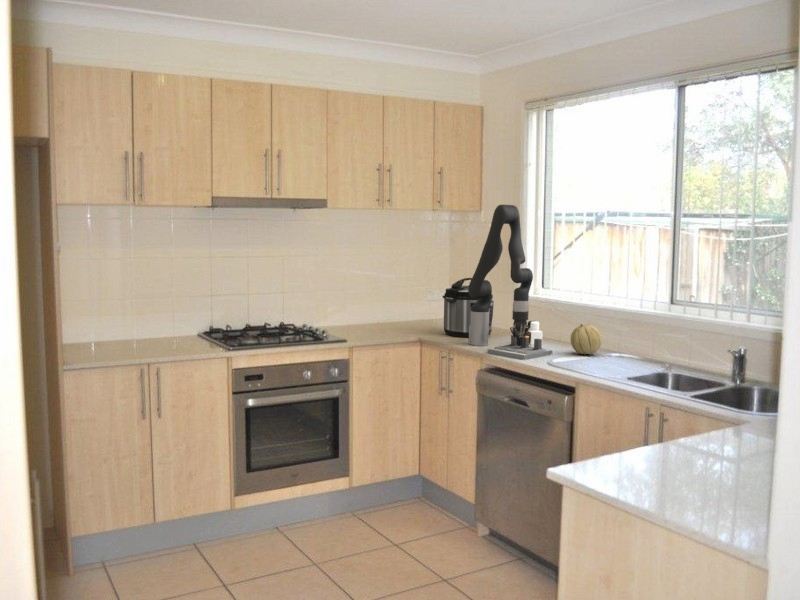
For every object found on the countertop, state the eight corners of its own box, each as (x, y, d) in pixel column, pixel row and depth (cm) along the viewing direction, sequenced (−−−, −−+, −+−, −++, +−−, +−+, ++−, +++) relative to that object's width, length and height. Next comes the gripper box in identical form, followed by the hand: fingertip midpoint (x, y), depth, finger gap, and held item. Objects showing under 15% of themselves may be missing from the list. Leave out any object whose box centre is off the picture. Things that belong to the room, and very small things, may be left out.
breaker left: (510, 346, 371) (510, 335, 370) (513, 345, 373) (514, 334, 372) (514, 347, 368) (515, 336, 368) (518, 346, 370) (519, 335, 370)
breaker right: (533, 350, 360) (533, 338, 360) (536, 349, 363) (537, 338, 362) (538, 351, 358) (538, 339, 358) (542, 350, 360) (542, 339, 360)
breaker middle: (520, 348, 365) (520, 336, 364) (524, 348, 367) (524, 335, 366) (525, 349, 363) (525, 336, 362) (529, 348, 365) (529, 336, 364)
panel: (487, 353, 363) (487, 347, 363) (515, 348, 378) (516, 342, 378) (524, 359, 347) (524, 353, 347) (552, 354, 362) (552, 348, 362)
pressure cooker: (446, 338, 405) (447, 279, 401) (436, 331, 433) (437, 275, 429) (500, 338, 409) (502, 280, 406) (487, 330, 437) (489, 276, 433)
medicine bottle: (523, 343, 395) (524, 320, 393) (535, 342, 397) (536, 320, 396) (530, 345, 388) (531, 322, 387) (542, 344, 390) (543, 321, 389)
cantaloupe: (607, 356, 361) (609, 324, 359) (584, 358, 354) (586, 326, 352) (586, 351, 374) (587, 321, 372) (563, 353, 367) (564, 322, 365)
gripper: (523, 308, 367) (521, 343, 369) (505, 310, 358) (504, 346, 360) (535, 309, 362) (534, 345, 364) (518, 311, 353) (516, 348, 355)
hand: (519, 345), depth 362 cm, fingers closed
